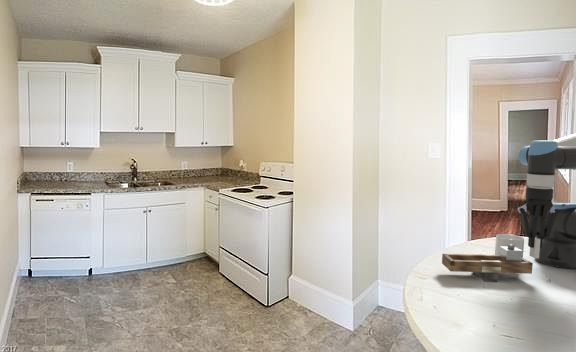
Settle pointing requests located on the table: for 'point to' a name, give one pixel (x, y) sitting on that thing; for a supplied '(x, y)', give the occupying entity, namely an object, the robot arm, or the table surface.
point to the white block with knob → (510, 254)
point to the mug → (508, 242)
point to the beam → (484, 265)
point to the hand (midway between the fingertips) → (534, 256)
